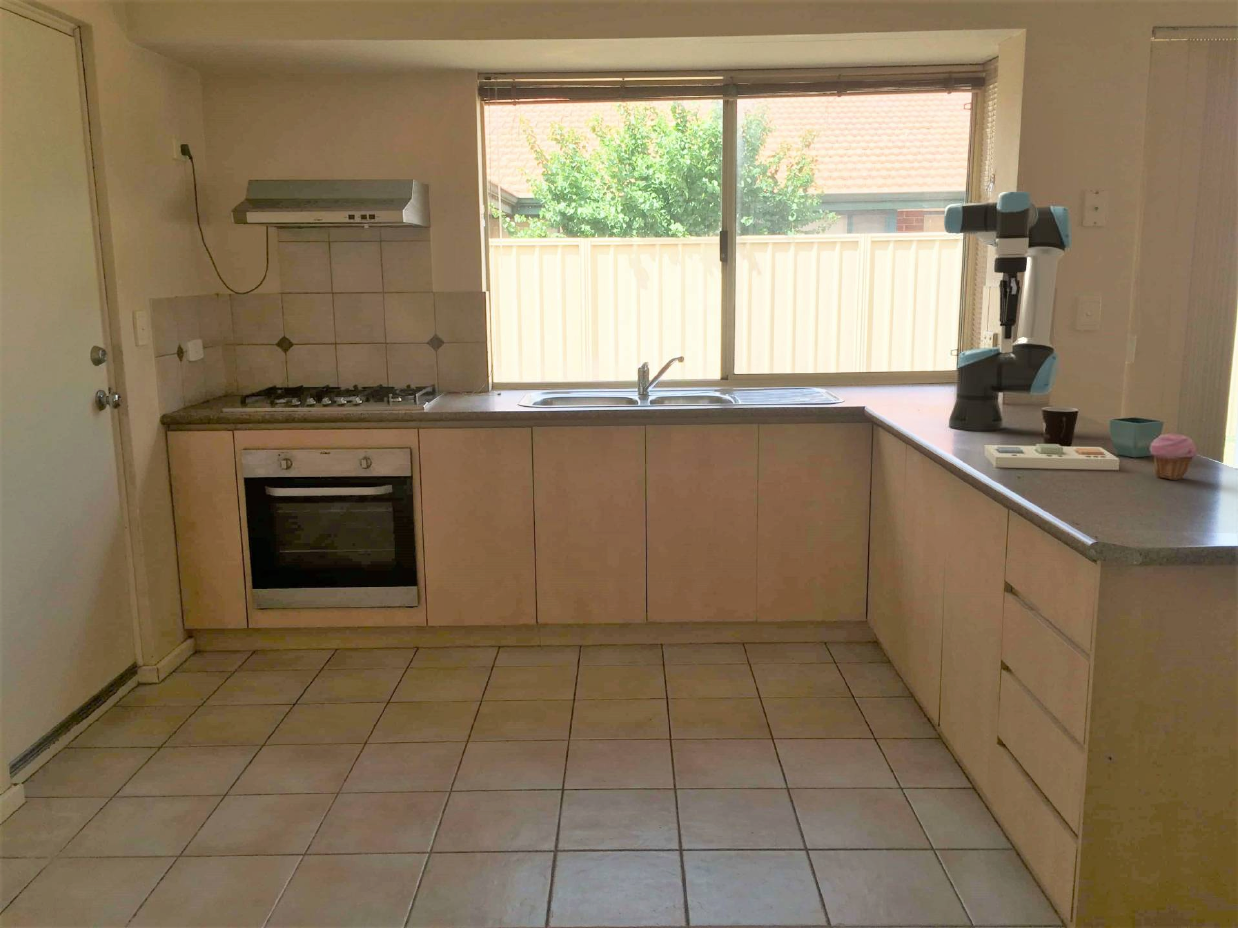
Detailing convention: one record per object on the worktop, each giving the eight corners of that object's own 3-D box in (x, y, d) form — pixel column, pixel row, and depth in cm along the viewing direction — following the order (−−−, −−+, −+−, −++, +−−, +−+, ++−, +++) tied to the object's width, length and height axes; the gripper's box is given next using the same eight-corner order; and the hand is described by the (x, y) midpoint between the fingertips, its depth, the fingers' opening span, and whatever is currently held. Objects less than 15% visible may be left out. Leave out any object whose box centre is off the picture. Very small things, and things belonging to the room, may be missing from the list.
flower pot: (1105, 454, 246) (1108, 418, 244) (1131, 451, 249) (1134, 416, 247) (1134, 460, 238) (1137, 423, 236) (1161, 457, 241) (1165, 421, 239)
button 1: (996, 457, 242) (997, 446, 241) (1018, 457, 241) (1018, 447, 240) (1000, 461, 237) (1000, 450, 236) (1022, 461, 236) (1022, 450, 235)
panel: (984, 454, 247) (984, 444, 247) (1099, 457, 242) (1100, 446, 242) (995, 467, 232) (995, 456, 231) (1118, 469, 227) (1119, 458, 226)
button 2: (1035, 454, 240) (1036, 443, 239) (1057, 455, 239) (1058, 444, 238) (1040, 458, 235) (1040, 447, 234) (1062, 458, 234) (1063, 447, 233)
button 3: (1074, 458, 238) (1075, 448, 238) (1097, 459, 237) (1097, 448, 237) (1080, 462, 233) (1081, 451, 233) (1102, 463, 232) (1103, 452, 232)
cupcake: (1139, 476, 220) (1142, 432, 218) (1166, 472, 223) (1170, 429, 221) (1175, 483, 212) (1179, 438, 210) (1202, 479, 215) (1207, 434, 213)
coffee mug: (1045, 443, 262) (1047, 406, 260) (1079, 446, 257) (1082, 408, 255) (1031, 449, 253) (1034, 411, 251) (1066, 453, 248) (1069, 413, 246)
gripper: (990, 256, 249) (985, 349, 255) (999, 257, 237) (995, 354, 242) (1021, 255, 248) (1016, 348, 253) (1032, 256, 236) (1027, 354, 241)
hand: (1005, 351), depth 248 cm, fingers closed
